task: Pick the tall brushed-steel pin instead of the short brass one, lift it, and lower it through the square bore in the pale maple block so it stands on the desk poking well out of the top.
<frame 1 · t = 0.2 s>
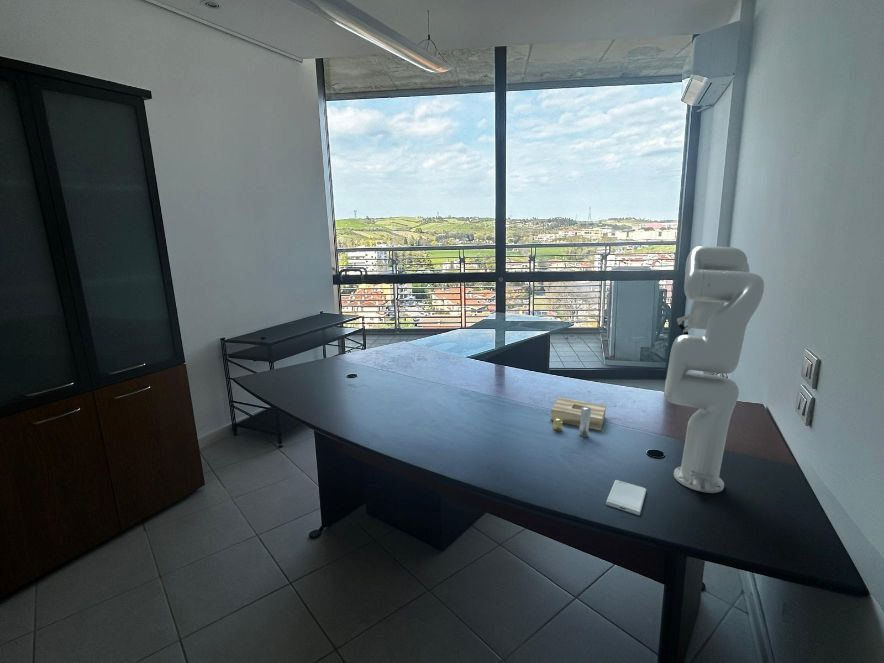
hand: (700, 344, 159), 31 cm above the table, tool pointing down, fingers open, 9 cm apart
short brass pin: (557, 429, 158), on the table
hard drive: (626, 500, 117), on the table
tall steel pin: (583, 435, 154), on the table
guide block: (578, 418, 168), on the table
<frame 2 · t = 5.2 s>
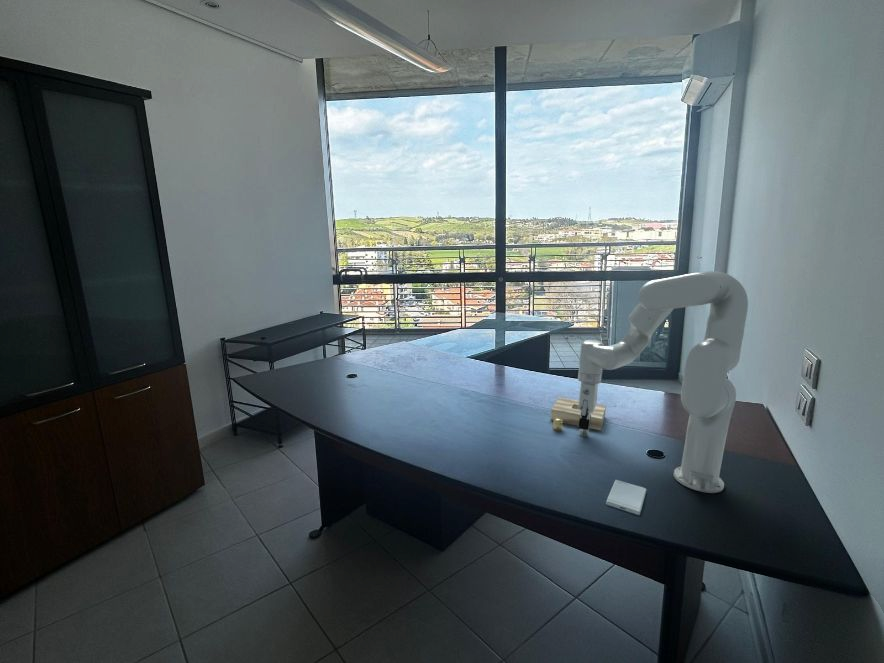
hand: (584, 426, 153), 3 cm above the table, tool pointing down, fingers closed on tall steel pin, 3 cm apart
tall steel pin: (583, 435, 154), on the table, touching gripper
everything else where it was.
when the fingers open (6 cm above the table, at t = 11.5 s): tall steel pin drops 2 cm, resting in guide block.
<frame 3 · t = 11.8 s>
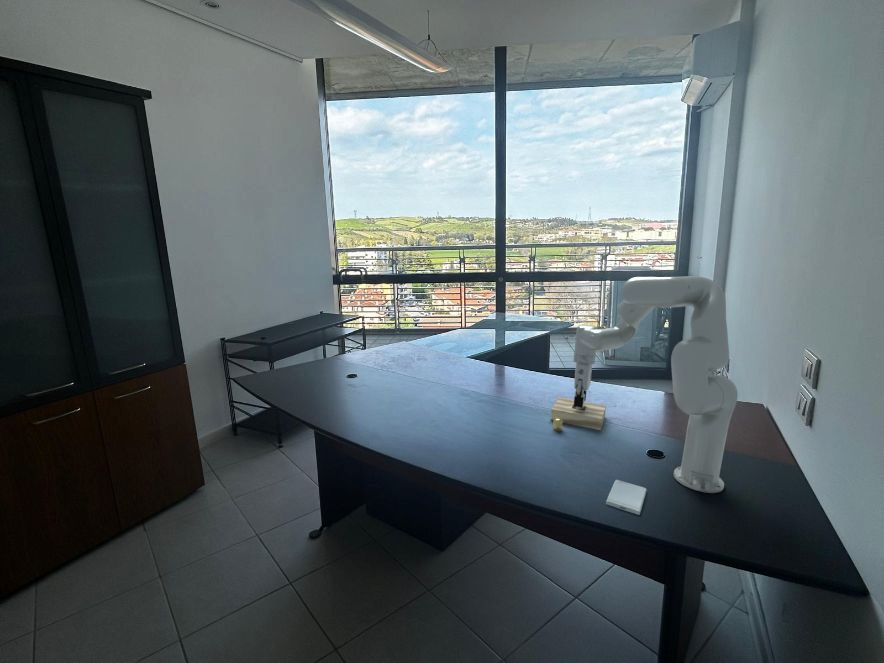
hand: (579, 403, 167), 6 cm above the table, tool pointing down, fingers open, 6 cm apart
tall steel pin: (578, 418, 168), resting in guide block
everything else where it was.
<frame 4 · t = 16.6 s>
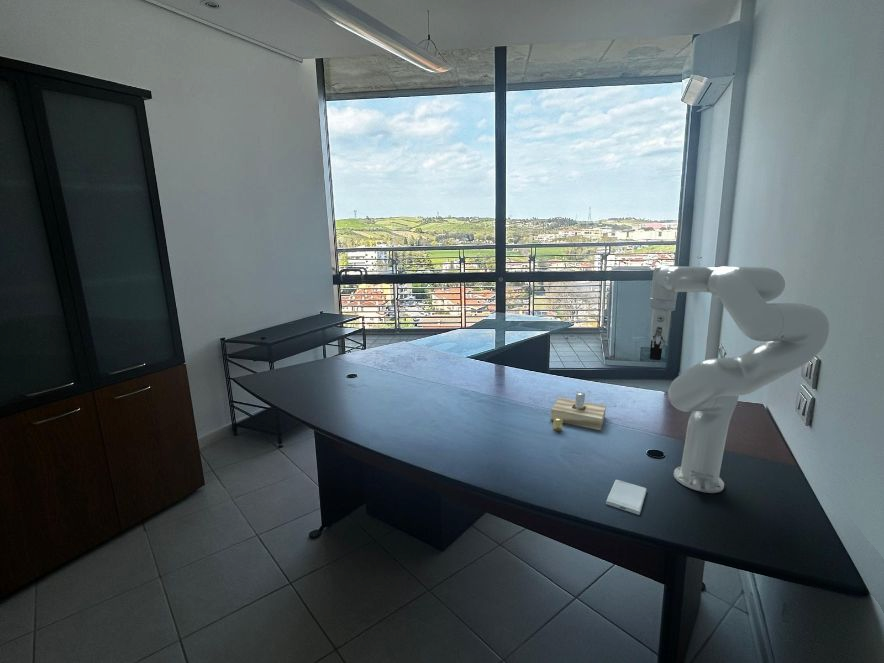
hand: (655, 356, 144), 30 cm above the table, tool pointing down, fingers open, 9 cm apart
nothing on the table moved.
at the end: tall steel pin 0.1 cm off-centre on the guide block, point 0.0 cm above the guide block's base; tall steel pin tilted 0°; short brass pin moved 0.0 cm from its start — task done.
